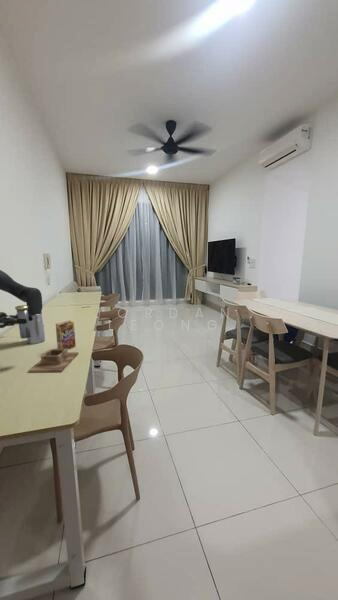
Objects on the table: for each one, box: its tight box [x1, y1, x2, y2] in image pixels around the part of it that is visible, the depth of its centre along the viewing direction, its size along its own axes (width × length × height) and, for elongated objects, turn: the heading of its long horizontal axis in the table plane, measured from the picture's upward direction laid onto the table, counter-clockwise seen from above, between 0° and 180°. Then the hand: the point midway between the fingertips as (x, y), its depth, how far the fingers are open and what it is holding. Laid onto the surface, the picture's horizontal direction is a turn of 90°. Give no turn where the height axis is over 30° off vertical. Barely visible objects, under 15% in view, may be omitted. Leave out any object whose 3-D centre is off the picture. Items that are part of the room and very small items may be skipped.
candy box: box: [55, 319, 77, 350], centre depth 134 cm, size 9×4×15 cm, turn 144°
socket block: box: [28, 348, 80, 373], centre depth 117 cm, size 20×15×5 cm
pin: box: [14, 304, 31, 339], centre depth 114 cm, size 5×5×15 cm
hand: (29, 319), depth 114 cm, fingers closed on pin, 4 cm apart
